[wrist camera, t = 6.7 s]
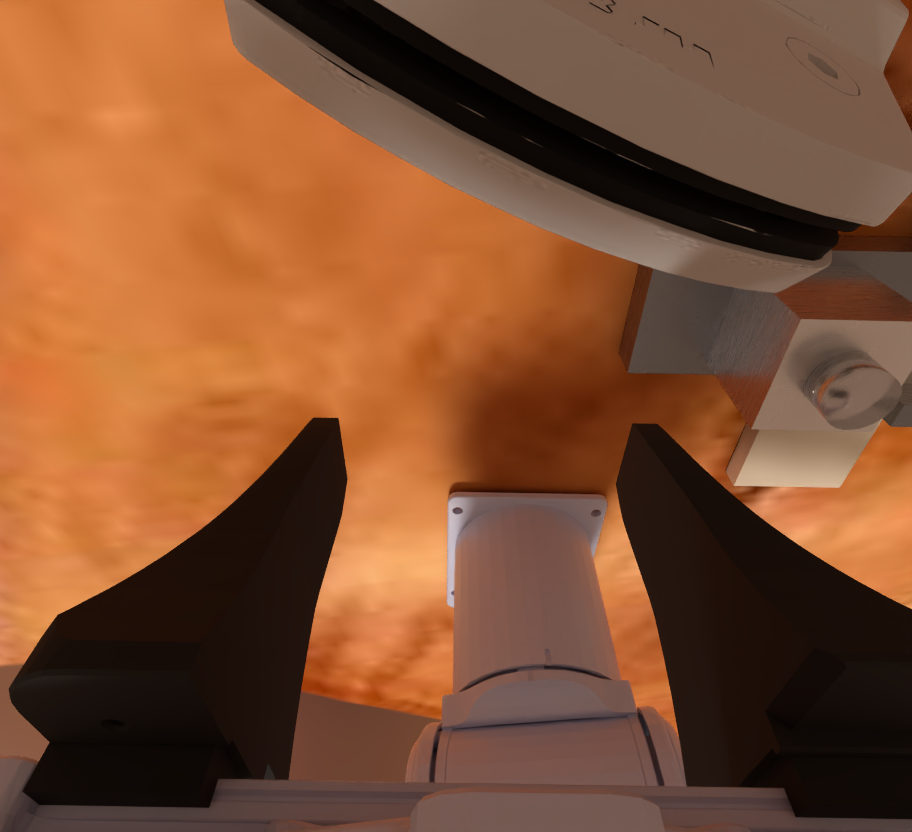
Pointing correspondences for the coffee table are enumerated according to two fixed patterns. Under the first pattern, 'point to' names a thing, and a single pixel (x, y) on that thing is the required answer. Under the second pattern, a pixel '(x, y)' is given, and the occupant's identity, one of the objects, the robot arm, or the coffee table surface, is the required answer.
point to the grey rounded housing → (622, 115)
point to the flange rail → (704, 306)
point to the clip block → (816, 352)
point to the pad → (795, 457)
